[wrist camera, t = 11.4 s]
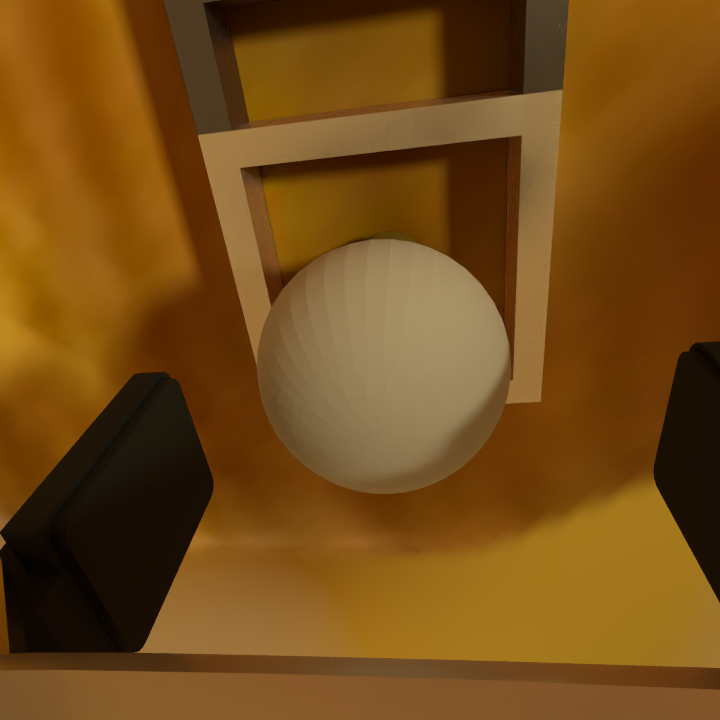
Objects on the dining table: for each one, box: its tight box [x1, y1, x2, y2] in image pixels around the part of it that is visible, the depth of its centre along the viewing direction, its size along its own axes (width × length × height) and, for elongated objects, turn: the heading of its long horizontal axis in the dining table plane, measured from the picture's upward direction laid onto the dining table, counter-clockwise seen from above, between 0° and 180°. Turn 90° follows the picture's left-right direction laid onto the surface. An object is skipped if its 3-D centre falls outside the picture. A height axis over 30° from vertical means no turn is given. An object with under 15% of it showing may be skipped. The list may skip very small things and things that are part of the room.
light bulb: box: [257, 232, 511, 494], centre depth 14 cm, size 6×6×10 cm
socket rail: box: [163, 0, 569, 404], centre depth 14 cm, size 10×23×2 cm, turn 7°
